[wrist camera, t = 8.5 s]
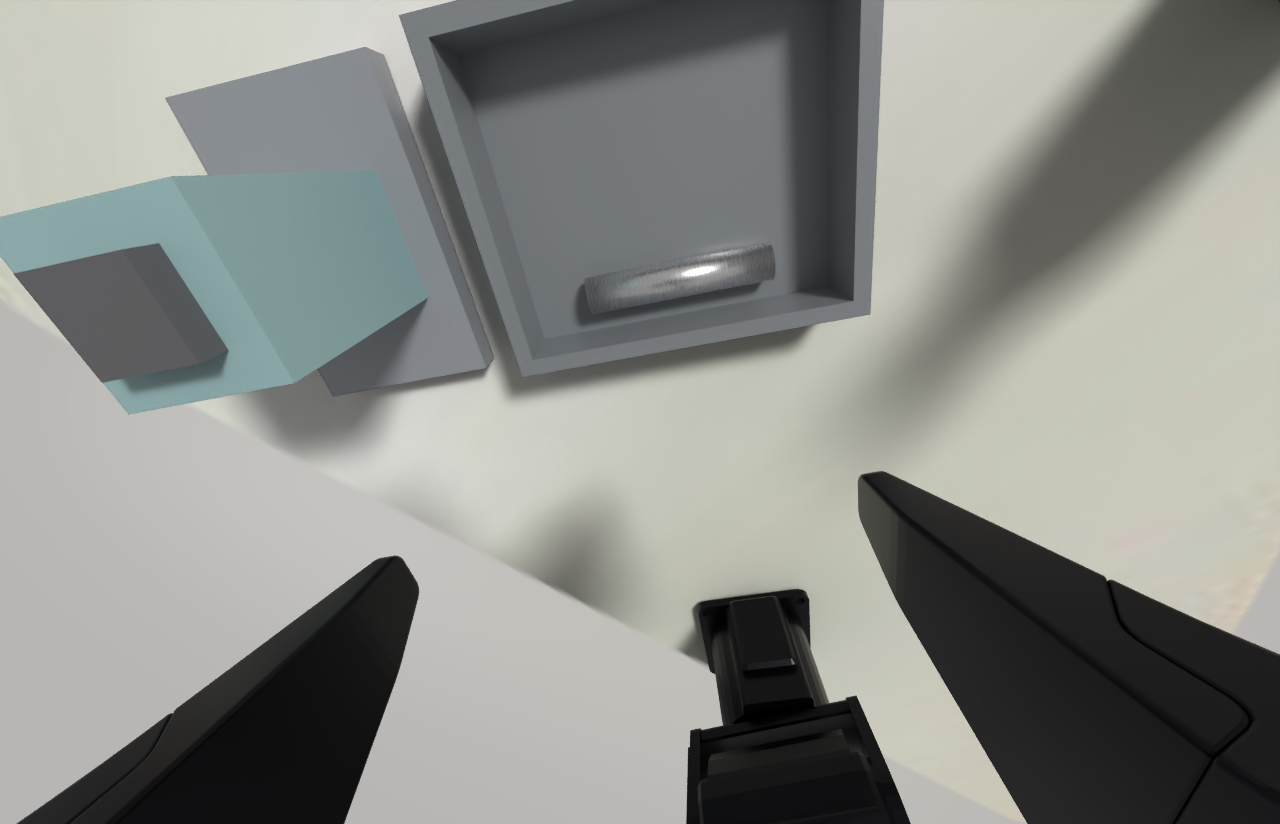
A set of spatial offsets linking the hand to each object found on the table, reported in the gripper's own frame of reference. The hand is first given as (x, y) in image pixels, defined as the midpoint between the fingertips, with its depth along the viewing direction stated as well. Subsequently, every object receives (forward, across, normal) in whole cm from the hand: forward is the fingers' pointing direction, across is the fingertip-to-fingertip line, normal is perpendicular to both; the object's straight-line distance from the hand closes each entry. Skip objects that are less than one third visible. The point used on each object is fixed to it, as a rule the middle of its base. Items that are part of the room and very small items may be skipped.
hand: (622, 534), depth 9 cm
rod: (+12, -2, -2) cm, 12 cm away
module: (+11, +10, -6) cm, 16 cm away
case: (+12, -2, -6) cm, 14 cm away
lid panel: (+12, +10, -6) cm, 17 cm away
